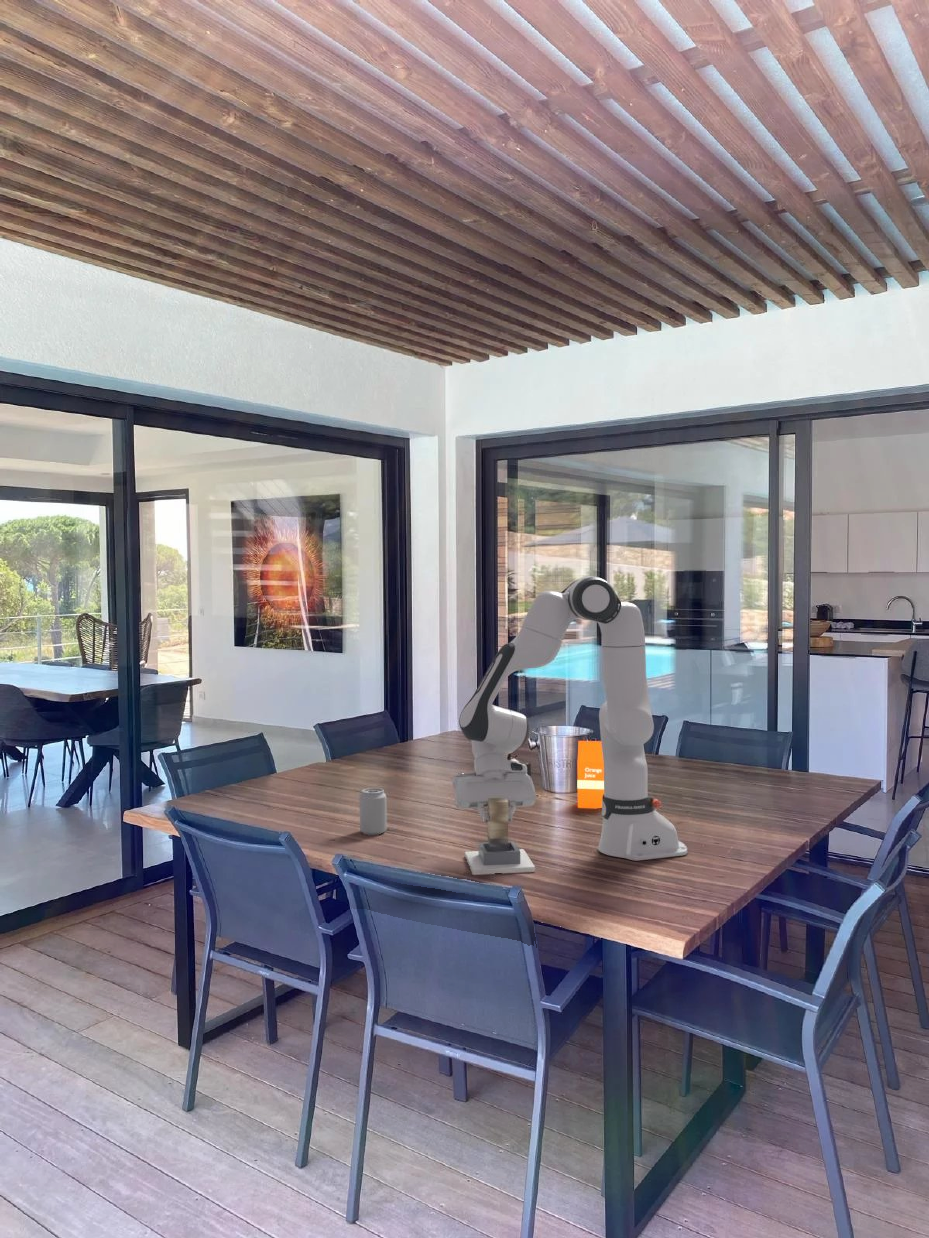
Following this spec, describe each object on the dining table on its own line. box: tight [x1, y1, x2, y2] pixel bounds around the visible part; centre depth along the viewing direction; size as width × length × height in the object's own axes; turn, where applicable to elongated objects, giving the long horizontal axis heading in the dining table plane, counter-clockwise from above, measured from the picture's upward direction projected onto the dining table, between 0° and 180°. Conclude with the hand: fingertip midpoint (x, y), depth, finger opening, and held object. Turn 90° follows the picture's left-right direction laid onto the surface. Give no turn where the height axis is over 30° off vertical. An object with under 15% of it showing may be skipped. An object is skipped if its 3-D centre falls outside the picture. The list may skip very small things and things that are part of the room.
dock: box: [464, 840, 536, 876], centre depth 228 cm, size 15×15×4 cm
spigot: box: [487, 798, 509, 847], centre depth 227 cm, size 4×4×11 cm
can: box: [359, 787, 388, 836], centre depth 258 cm, size 8×8×12 cm
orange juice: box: [576, 740, 604, 809], centre depth 286 cm, size 8×9×20 cm
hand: (498, 820), depth 227 cm, fingers closed on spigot, 4 cm apart
